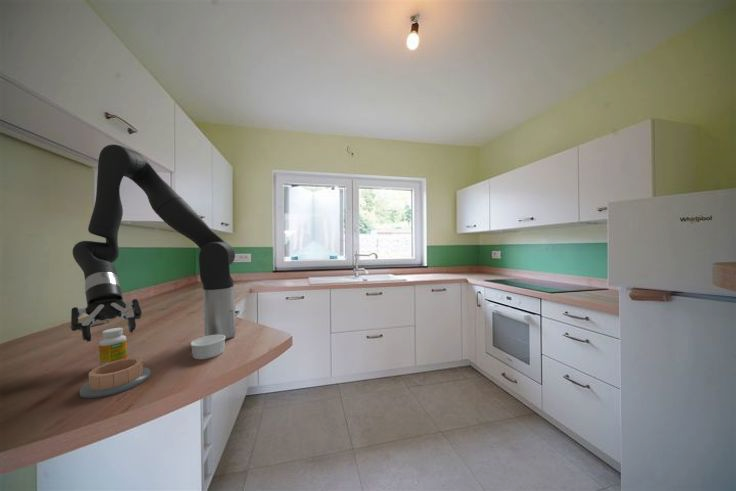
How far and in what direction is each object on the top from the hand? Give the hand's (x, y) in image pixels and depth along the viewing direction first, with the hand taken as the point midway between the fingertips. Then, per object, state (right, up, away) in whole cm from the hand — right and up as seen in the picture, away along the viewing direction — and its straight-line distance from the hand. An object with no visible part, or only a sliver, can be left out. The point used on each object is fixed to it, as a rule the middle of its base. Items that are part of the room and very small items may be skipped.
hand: (111, 335), depth 72 cm
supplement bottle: (+2, -8, -1) cm, 8 cm away
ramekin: (+24, -7, +5) cm, 26 cm away
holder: (+12, -8, -11) cm, 18 cm away
